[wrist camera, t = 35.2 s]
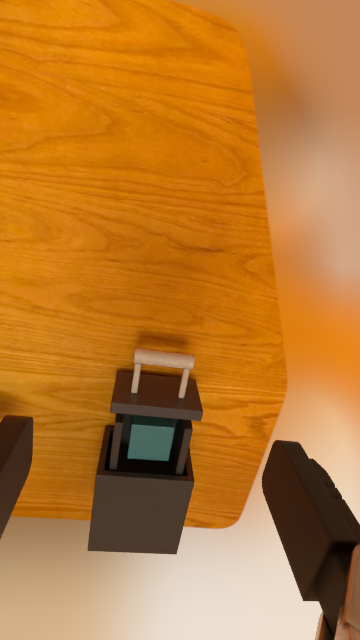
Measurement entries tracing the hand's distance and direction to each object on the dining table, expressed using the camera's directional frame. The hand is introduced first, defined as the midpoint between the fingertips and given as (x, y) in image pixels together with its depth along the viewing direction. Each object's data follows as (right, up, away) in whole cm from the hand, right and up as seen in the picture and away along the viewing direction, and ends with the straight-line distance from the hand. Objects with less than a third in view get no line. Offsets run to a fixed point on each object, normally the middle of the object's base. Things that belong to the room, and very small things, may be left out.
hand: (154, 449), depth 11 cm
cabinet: (-4, -15, +33) cm, 37 cm away
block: (-3, -7, +29) cm, 30 cm away
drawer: (-2, -5, +29) cm, 29 cm away
